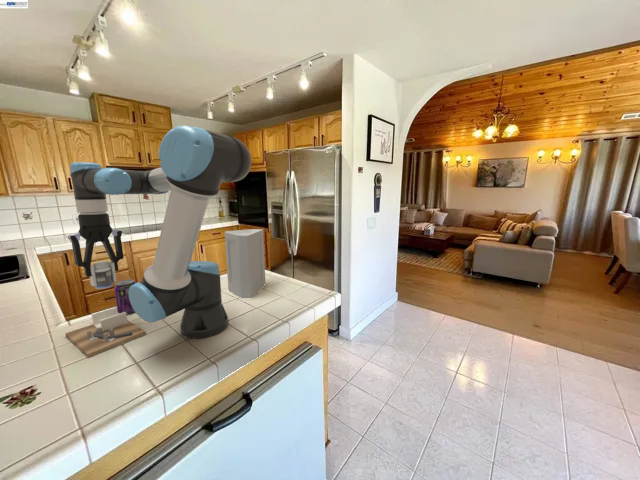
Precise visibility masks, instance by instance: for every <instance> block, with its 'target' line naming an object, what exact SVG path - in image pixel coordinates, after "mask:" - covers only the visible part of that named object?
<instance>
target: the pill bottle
mask: <svg viewBox="0 0 640 480" xmlns="http://www.w3.org/2000/svg"><path fill="white" fill-rule="evenodd" d="M109 262H110V261H108V260H107V261H106V260H105V261H104V260H103V261H97V262H93V264H92V266H94V271H95V277H96V283H97V286H95V287H94V289H96V290H104V289H109V288H111V287H113V285H114V284H113V283H114V282H113V281H112V273H111V268H110V267H109Z"/></svg>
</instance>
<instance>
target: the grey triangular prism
mask: <svg viewBox="0 0 640 480" xmlns="http://www.w3.org/2000/svg"><path fill="white" fill-rule="evenodd" d="M264 236H265V235H264V228H262V229H261V228H252V229H250V228H249V229H240V230H227V231H224V240H225V241H224V243H225V256H226V257H225V258H226V273H227V275H226V276H227V287H228V289H227V291H228V290H229V292H230V293H231V292H232V294H233V293H234V294H233V295H235V296H236V295H237V296H236V297H238V296H239V297H238V298H240V297H241V298H240V299H242V298H252V297H253V296H254V295H255V294H256V293H257V292H258V291H259V290H260V289H261V288H262V287H263V286H264V284H265V285H266V264H265V263H266V262H265V238H264ZM264 287H265V286H264ZM264 287H263V288H264ZM263 288H262V289H263ZM262 289H261V290H262ZM261 290H260V291H261ZM260 291H259V292H260ZM259 292H258V293H259ZM258 293H257V294H258ZM257 294H256V295H257ZM256 295H255V296H256ZM255 296H254V297H255ZM254 297H253V298H254ZM253 298H252V299H253Z"/></svg>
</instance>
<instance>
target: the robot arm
mask: <svg viewBox="0 0 640 480" xmlns="http://www.w3.org/2000/svg"><path fill="white" fill-rule="evenodd" d="M158 159H159V160H160V163H159V165H160V167H157V168H154V169H150V170H132V169H131V170H130V169H121V168H117V167H104V168H102V165H101V164H99V163H98V162H97V163H96V162H85V161H83V162H82V161H81V162H80V161H79V162H78V161H77V162H76V161H75V162H72V163H70V165H69V168H70V174H69V175H70V178H71V183H72V188H73V194H74V199H75V207H76V212H77V213H79V214H78V216H77V218H78V226H79V229H78V231H77V233H74V234H69V235H68V236H67V238H68V239H69V241H70V242H71V245H72V246H71V247H72V252H73V258H74V264H75V266H77V267H80V268H83V269H84V275H85V277H87V278H89V283H90V286H92V287H94V288H95V286H97V283H96V277H95V271H94V269H95V268H94V266H93V265H91V264H92V260H93V259H92V258H93V252H94V246H95V244H97V243H100V242H101V243H102V245H103V247H104V249H105V251H106V254H107V255H108V258H109V260H110V261H108V262H109V266H108V267H110V268H111V273H112V281H113V283H116V282H118V281H117V274H116V273H117V272H118V271H119V265H118V264H119V261H120V260H123V259H124V251H123V245H122V235H123V231H122V230H119V229H113V228H112V226H111V222H110V214H108V213H107V212H108V211H109V208H108V202H107V196H106V195H110V196H114V195H115V196H120V195H163V194H167V193H169V192H170V194H169V197H168V201H167V205H166V210H165V214H164V217H163V222H162V225H161V229H160V233H159V237H158V243H157V245H156V246H157V248H156V250H155V254H154V259H153V262H152V265H150V266H148V267H147V268H145V270H144V273H143V275H142V276H143V277H142V279H141V281H140V282H135V284H134V285H132V286H131V287H130V289H129V300H130V303H131V305H132V307H133V309H134V311H135V312H134V313H136V315H137V316H138V317H139V318H140V319H141V320H143V321H145V322H147V323H155V322H159V321H161V320H165V319H166V318H168V317H170V316H172V315H174V314H176V313H178V312H180V311H183V310H184V311H183V313H182V317H181V318H182V319H181V322H180V325H179V328H180V334H181V335H182V336H183V337H184V338H188V339H203V338H208V337H212V336H214V335H217V334H219V333H221V332H223V331H224V330H225V329H227V328H228V327H229V316H228V314H227V312H226V309H225V306H224V305H223V301H222V287H221V286H222V285H221V273H220V266H219V264H218V263H216V262H213V261H210V260H209V261H208V260H192V258H193V254H194V251H195V248H196V245H197V242H198V238H199V235H200V231H201V227H202V224H203V222H204V219H205V215H206V211H207V209H208V205H209V202H210V199H212V198H215V197H217V195H218V194H219V191H220V188H221V186H222V184H224V183H234V182H238V181H239V182H240V181H241V180H243V179H245V178H246V176H247V175H248V174H249V172H250V171H251V169H252V168H251V167H252V156H251V153H250V151H249V148H248V147H247V146H246V145H245V143H244V142H242V141H241V140H239V139H238V138H236V137H234V136H230V135H227V134H222V133H218V132H215V131H213V130H208V129H205V128H202V127H199V126H189V125H177V126H175V127H174V128H171V129H170V130H169V131H168V132H167V133H166V134H165V135H164V136H163V138H162V140H161V142H160V145H159V150H158ZM111 235H112V236H113V243H114V249H115V251H114V249H113V247H112V245H111V241H110V239H109V237H110V236H111ZM80 237H81V238H83V239H84V240H85V249H84V257H83V255H82V250H81V244H80V240H81V238H80Z"/></svg>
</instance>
